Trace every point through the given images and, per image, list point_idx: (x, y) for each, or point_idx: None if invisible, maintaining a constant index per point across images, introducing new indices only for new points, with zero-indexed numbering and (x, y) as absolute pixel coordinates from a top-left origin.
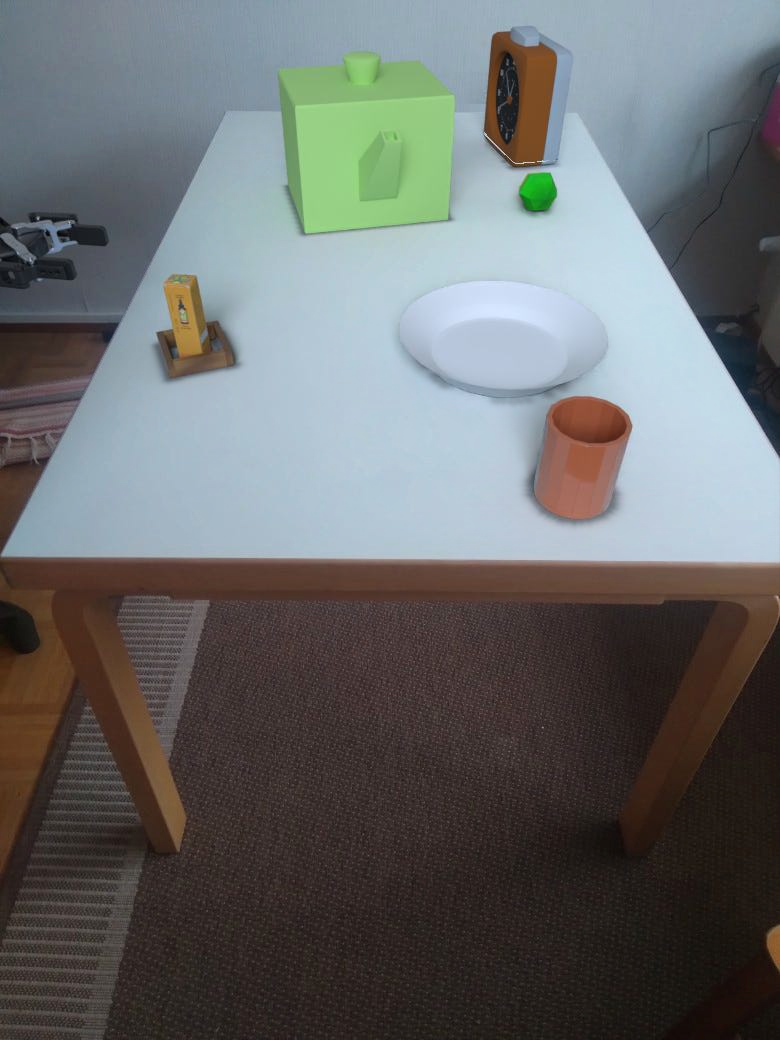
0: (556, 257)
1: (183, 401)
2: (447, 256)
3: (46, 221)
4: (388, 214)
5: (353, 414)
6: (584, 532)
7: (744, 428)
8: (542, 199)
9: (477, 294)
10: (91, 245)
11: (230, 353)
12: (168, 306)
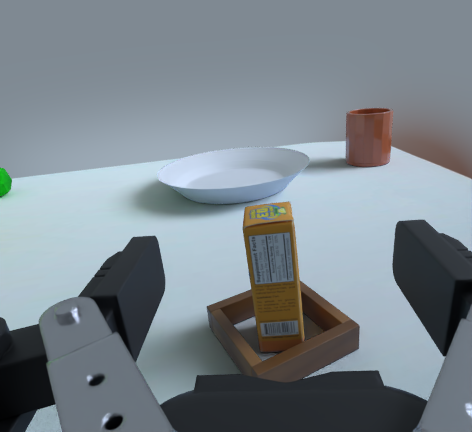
0: (92, 184)
1: (405, 316)
2: (60, 216)
3: (77, 362)
4: None
5: (342, 215)
6: (395, 157)
7: (286, 146)
8: (10, 180)
9: (168, 181)
10: (151, 322)
11: None
12: (297, 259)
